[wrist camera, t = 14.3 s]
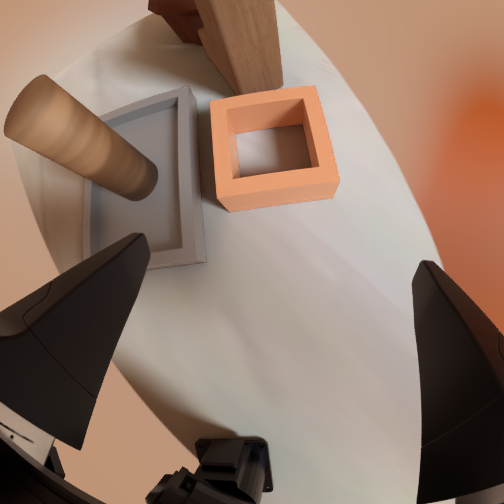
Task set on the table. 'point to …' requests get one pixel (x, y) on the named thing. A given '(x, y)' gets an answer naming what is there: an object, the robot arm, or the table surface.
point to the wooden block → (242, 43)
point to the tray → (166, 190)
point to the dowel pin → (78, 140)
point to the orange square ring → (263, 117)
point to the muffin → (180, 18)
